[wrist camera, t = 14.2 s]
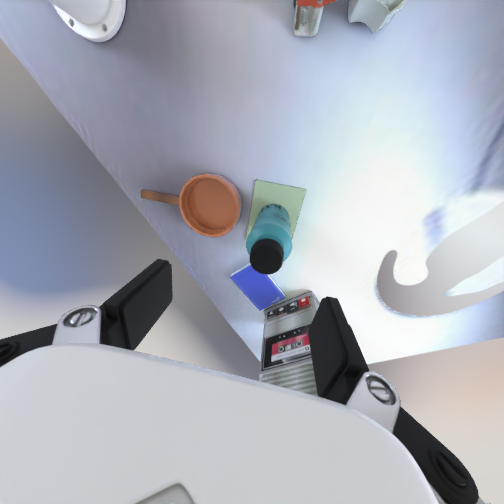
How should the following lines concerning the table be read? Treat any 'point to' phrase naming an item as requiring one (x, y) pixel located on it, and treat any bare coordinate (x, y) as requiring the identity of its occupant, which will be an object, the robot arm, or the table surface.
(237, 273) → the hard drive
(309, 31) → the tape dispenser
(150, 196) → the pan handle
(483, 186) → the table surface
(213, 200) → the pan
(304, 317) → the tall grey upright box
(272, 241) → the beverage bottle
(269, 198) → the cloth
